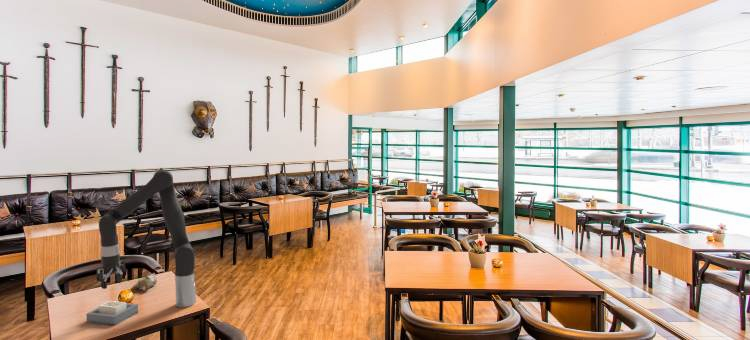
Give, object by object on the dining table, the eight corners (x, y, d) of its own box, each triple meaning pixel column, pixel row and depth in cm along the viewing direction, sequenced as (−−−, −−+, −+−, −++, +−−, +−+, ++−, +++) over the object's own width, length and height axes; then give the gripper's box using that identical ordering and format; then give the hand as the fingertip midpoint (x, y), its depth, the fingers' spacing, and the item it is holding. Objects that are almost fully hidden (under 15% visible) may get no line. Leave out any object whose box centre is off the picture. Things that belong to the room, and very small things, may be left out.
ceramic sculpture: (161, 271, 228) (143, 281, 214) (162, 284, 230) (144, 295, 215) (146, 270, 230) (126, 280, 215) (147, 283, 231) (128, 294, 216)
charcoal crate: (111, 309, 194) (111, 301, 194) (138, 312, 192) (137, 304, 191) (86, 322, 181) (86, 313, 180) (114, 325, 178) (114, 316, 178)
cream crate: (110, 311, 190) (109, 300, 189) (126, 313, 188) (126, 302, 188) (99, 317, 184) (98, 305, 184) (116, 319, 182) (116, 307, 182)
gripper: (103, 258, 176) (105, 291, 177) (128, 250, 190) (130, 280, 191) (90, 257, 177) (92, 290, 179) (116, 249, 191) (118, 279, 193)
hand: (112, 285), depth 185 cm, fingers open, 8 cm apart
